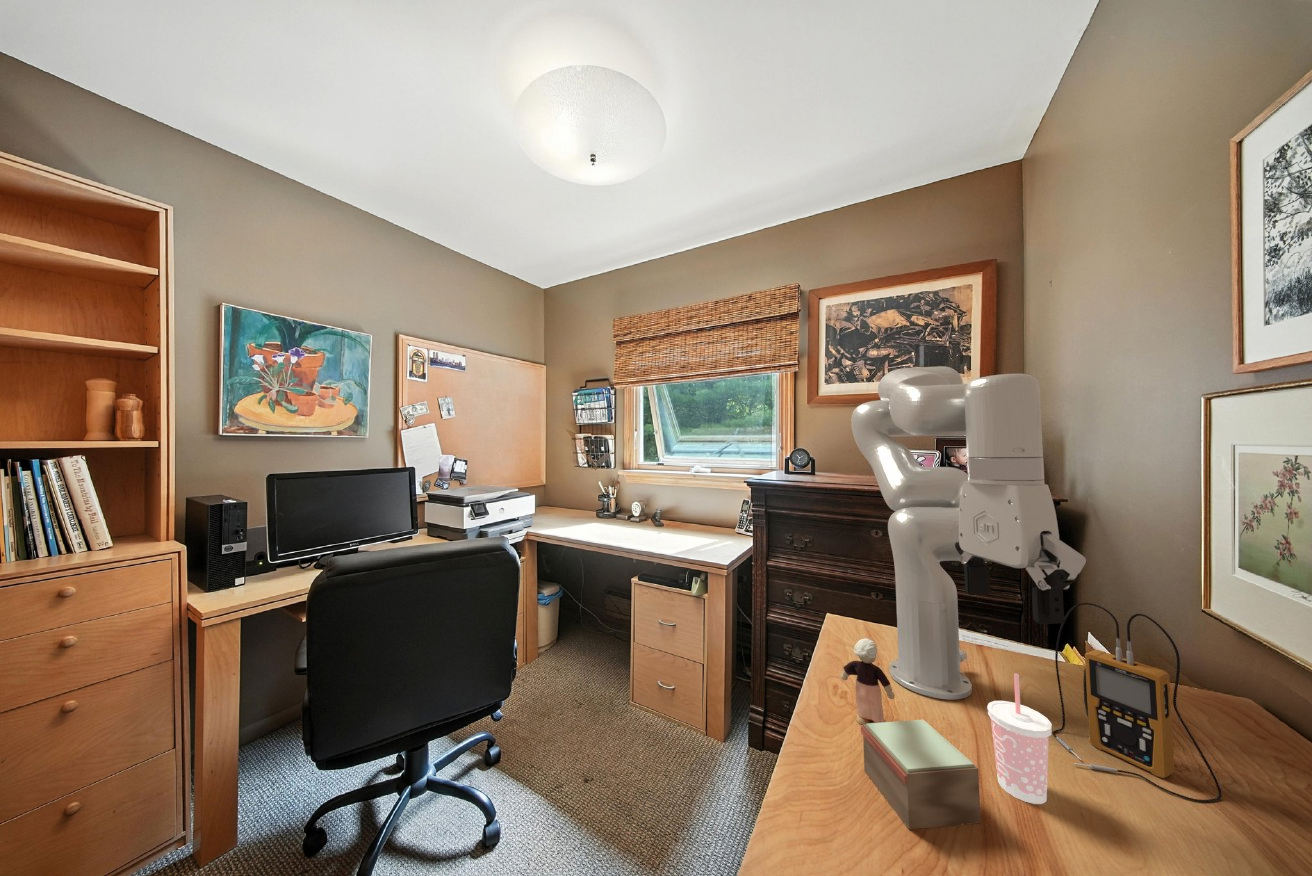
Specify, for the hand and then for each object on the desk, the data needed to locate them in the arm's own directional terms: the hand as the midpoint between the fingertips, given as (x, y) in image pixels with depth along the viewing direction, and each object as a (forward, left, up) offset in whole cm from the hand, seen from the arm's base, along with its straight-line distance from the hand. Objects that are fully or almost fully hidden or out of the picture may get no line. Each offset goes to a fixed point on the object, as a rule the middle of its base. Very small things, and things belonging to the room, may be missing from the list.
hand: (1010, 606), depth 53 cm
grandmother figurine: (+4, -17, -22) cm, 29 cm away
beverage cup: (0, 0, -22) cm, 23 cm away
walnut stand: (+12, -6, -22) cm, 26 cm away
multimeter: (-15, +5, -23) cm, 28 cm away
